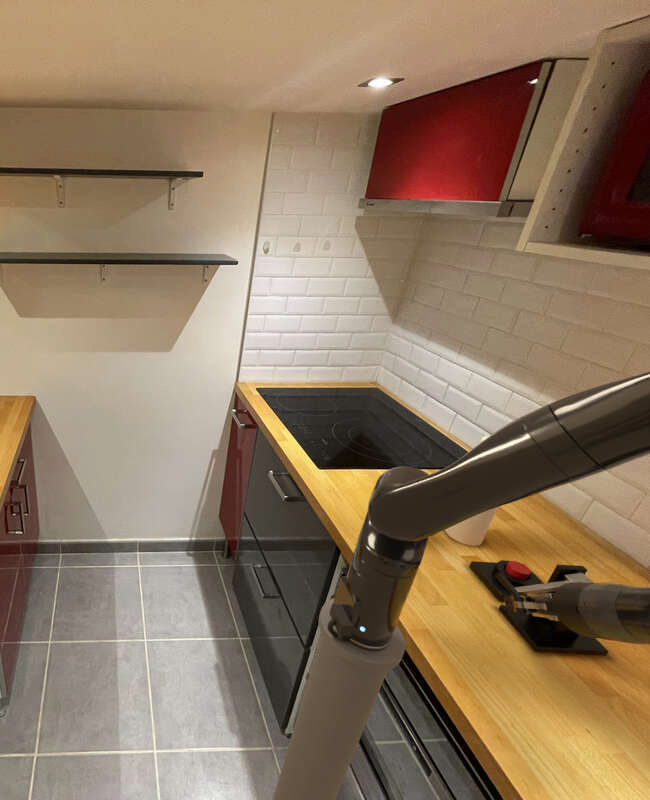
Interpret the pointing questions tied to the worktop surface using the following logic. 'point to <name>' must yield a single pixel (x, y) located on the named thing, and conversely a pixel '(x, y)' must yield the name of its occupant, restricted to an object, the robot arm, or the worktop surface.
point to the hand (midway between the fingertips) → (511, 602)
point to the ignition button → (518, 570)
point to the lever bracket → (553, 626)
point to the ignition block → (487, 576)
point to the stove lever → (542, 587)
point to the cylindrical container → (472, 526)
